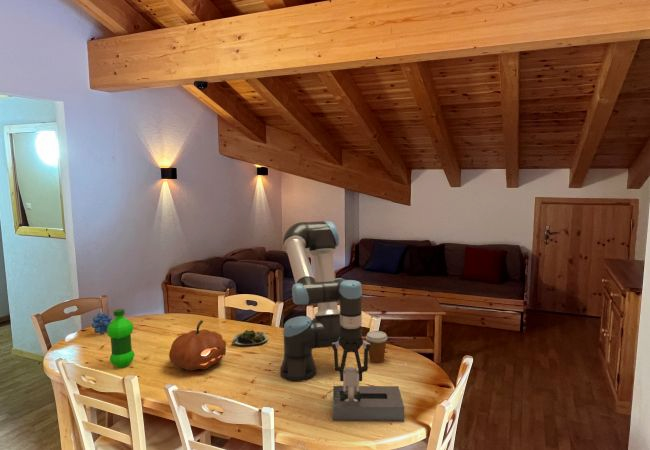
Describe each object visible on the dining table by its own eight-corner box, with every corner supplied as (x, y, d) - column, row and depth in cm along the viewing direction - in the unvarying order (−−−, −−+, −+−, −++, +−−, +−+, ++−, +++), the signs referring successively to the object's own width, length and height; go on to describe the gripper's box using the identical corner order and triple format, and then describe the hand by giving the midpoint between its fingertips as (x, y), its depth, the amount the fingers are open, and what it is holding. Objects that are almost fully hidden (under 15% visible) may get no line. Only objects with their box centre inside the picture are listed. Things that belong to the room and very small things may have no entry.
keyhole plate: (332, 420, 141) (332, 406, 140) (333, 398, 155) (333, 385, 154) (404, 421, 140) (404, 407, 139) (398, 399, 154) (398, 386, 153)
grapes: (98, 339, 215) (96, 316, 213) (89, 337, 218) (88, 315, 216) (118, 331, 225) (116, 310, 224) (109, 329, 228) (107, 308, 227)
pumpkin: (213, 379, 170) (211, 335, 168) (157, 375, 174) (155, 332, 172) (236, 354, 195) (234, 315, 193) (186, 351, 199) (184, 313, 197)
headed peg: (344, 411, 145) (343, 372, 143) (344, 403, 150) (343, 366, 148) (358, 411, 145) (358, 373, 143) (357, 403, 150) (357, 366, 148)
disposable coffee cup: (386, 365, 181) (386, 339, 180) (364, 363, 183) (364, 337, 182) (387, 356, 191) (388, 331, 189) (367, 354, 192) (367, 329, 191)
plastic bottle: (104, 368, 182) (100, 313, 179) (123, 358, 191) (119, 305, 188) (122, 371, 178) (118, 315, 175) (140, 361, 188) (137, 308, 185)
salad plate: (231, 334, 220) (231, 326, 220) (265, 331, 224) (265, 323, 223) (231, 349, 201) (231, 340, 201) (268, 345, 205) (268, 336, 205)
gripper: (325, 329, 141) (326, 394, 143) (376, 329, 140) (376, 395, 143) (326, 321, 148) (327, 384, 151) (374, 321, 147) (374, 384, 150)
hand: (351, 389), depth 147 cm, fingers closed on headed peg, 4 cm apart
